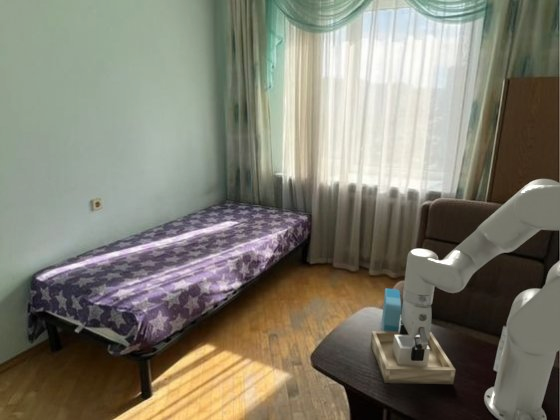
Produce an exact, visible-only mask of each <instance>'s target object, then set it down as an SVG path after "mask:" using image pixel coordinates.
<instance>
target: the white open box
mask: <svg viewBox="0 0 560 420" xmlns="http://www.w3.org/2000/svg"><path fill="white" fill-rule="evenodd" d="M415 337H420V335H417V336H415ZM416 341H417V345H418V344H421V340H418V339H416ZM412 347H414V345H413V339H412V338H411V337H410V336H409V335H394V341H393V349H392V353H393V355H394V358H395V360H396V362H397V365H398V366H405V367H427V366H428V360H429V353H430V348H429V346H427V348H426V350H425V352H424V359H423V361H412V360H411V353H412Z"/></svg>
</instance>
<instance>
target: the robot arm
mask: <svg viewBox="0 0 560 420" xmlns="http://www.w3.org/2000/svg"><path fill="white" fill-rule="evenodd" d="M541 230H542V231H543V230H544V231H560V183H559V182H558V181H556V180H553V179H549V178H538V179H535V180H532V181H530V182H529V183H527V184H525V185H524V186H523V187H521V189H519V191H517V192H516V193H515V194H514V195H513V196H512V197H510V198H509V199H508V200H507V201H506V202H505V203H503V204H502V205H501V206H500V207H498V209H496V210H495V211H494V213H492V214H491V215H489V216H488V218H486V219H485V220H484V221H483V222H481V224H479V225H478V226H477V228H476V229H475V230H474V231H473V232H472V233H471V234H470V235H469V236H467V237H466V238H465V239H464V240H463V241H462V242H461V243H459V244H458V245H457V246H455V248H454V249H452V250H451V251H450V252H449V253H448V254H446V256H445V257H443V259H439V257H438V255H437V253H436V252H434V251H433V250H431V249H426V248H413V249H411V250H410V251H409V252H408V254H407V258H406V266H405V275H404V284H403V289H402V290H403V291H402V299H403V302H402V304H401V314H400V326H399V332H400V335H409V336H410V337H411V338H412V339H413V345H414V347H412V353H411V360H412V361H423V359H424V352H425V350H426V348H427V346H428V339H429V338H430V332H431V328H432V304H433V299H434V294H435V293H434V292H435V288H437V289H439V290H442V291H444V292H446V293H451V294H455V293H456V294H457V293H460V292H461V291H462V290H464V289H465V287H466V286H467V284H468V283H469V281H470V279H471V278H472V276H473V275H474V274H475V273H476V272H477V271H478V270H480V268H482V267H483V266H484V265H486V264H487V263H488V262H489V261H491V260H492V259H494V258H495V257H497V256H499V255H500V254H504V253H507V254H508V253H511V252H514V251H515V250H516V249H518V248H519V247H520V246H521V245H523V244H524V243H526V241H528V240H529V239H530V238H532V237H533V236H534V235H536V234H538V232H540V231H541ZM505 326H506V329H507V333H506V338H505V342H504V347H503V350H502V355H501V359H500V364H499V368H498V372H496V377H495V378H496V379H495V382H494V386H491V387H490V388H488V389H487V390H486V391H485V393H484V396H483V399H484V400H483V401H484V404H485V406H486V408H487V409H488V411H489V412H490V413H491V415H493V416H494V418H496V419H498V420H547V414H546V413H545V410H544V409H543V407H542V405H543V403H544V402H543V401H544V398H545V395H546V391H547V387H548V384H549V382H550V381H549V380H550V376H551V372H552V369H553V367H554V363H555V360H556V356H557V352H559V351H560V260H558V261H557V262H556V263H554V264H553V265H552V267H551V268H550V269H549V271H548V273H547V276H546V279H545V284H544V285H543V286H542V288H528V289H526V290H523V291H522V292H520V293H519V294H518V295H517V296H516V297H515V298H514V300H513V302H512V305H511V308H510V311H509V314H508V317H507V321H506V325H505ZM417 334H419V335H420V337H415V336H417ZM416 339H418V340H421V344H418V345H417V341H416Z"/></svg>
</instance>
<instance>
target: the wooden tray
mask: <svg viewBox="0 0 560 420" xmlns="http://www.w3.org/2000/svg"><path fill="white" fill-rule="evenodd" d="M394 335H400V331H398V332H394V331H381V330H372V331H371V336H370V337H371V339H370V346H371V348H372V350H373V351H372V352H373V354H374V356H375V357H374V358H375V360H376V363H377V365H378V369H379V370H380V373H381V374H380V375H381V376H382V379H383V382H384V384H422V385H424V384H425V385H426V384H427V385H428V384H430V385H433V384H434V385H453V384H454V381H455V375H456V368H455V367H454V365H453V364H452V362H451V360H450V359H449V358H448V356H447V355H446V353H445V351H444V350H443V348H442V347H441V345H440V344H439V341H438V340H437V339H436V337H435V336H434V334H433V333H432V332H431V331H430V338H429V339H428V346H429V348H430V353H429V360H428V366H427V367H405V366H398V365H397V362H396V360H395V358H394V355H393V353H392V349H393V341H394ZM417 335H419V334H417Z"/></svg>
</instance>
